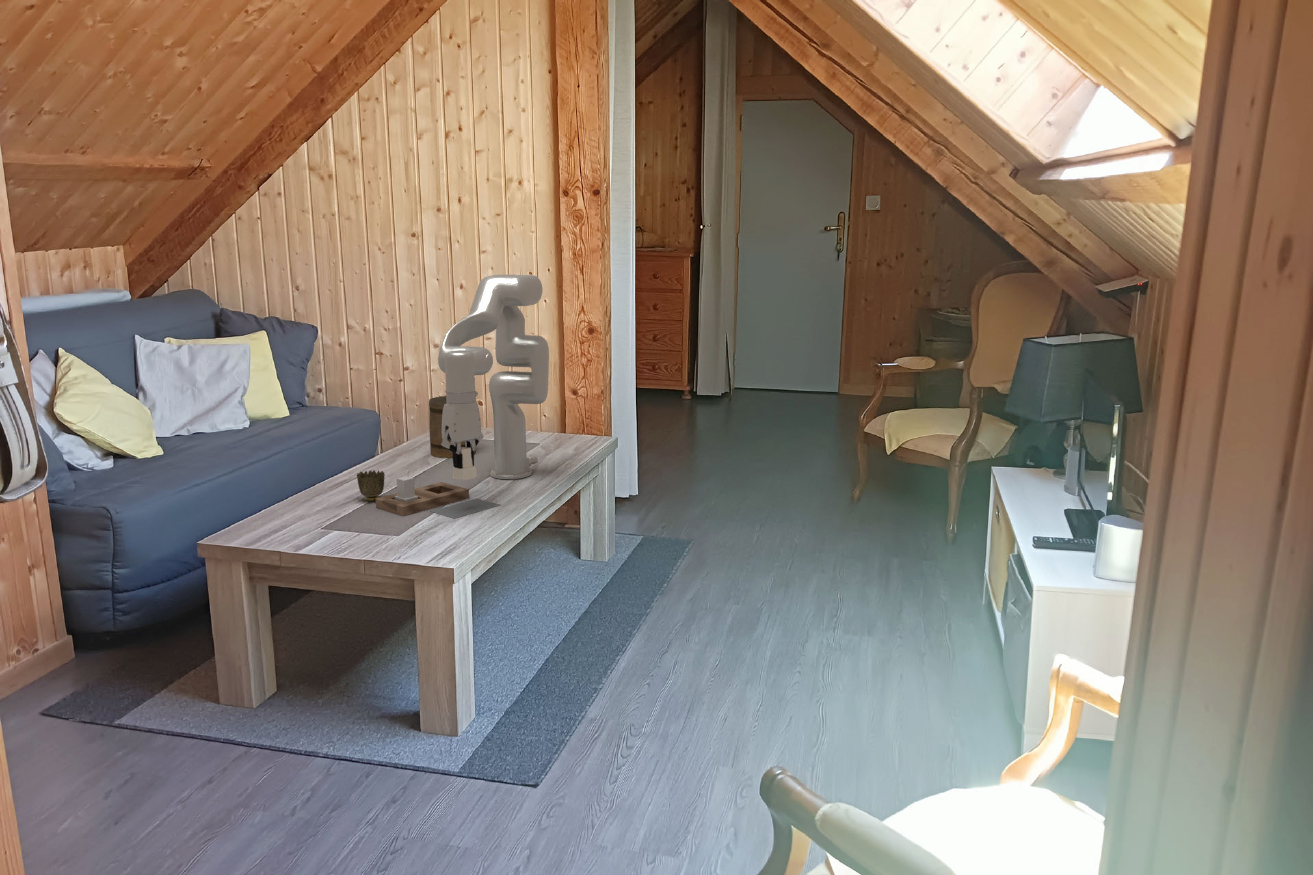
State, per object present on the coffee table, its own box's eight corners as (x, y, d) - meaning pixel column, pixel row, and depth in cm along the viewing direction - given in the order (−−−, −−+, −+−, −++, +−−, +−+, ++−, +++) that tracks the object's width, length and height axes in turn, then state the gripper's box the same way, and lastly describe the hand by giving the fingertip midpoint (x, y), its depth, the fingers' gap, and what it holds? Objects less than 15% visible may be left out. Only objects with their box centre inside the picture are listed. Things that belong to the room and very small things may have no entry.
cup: (385, 504, 271) (383, 475, 269) (357, 505, 270) (355, 477, 268) (387, 496, 278) (385, 469, 276) (359, 498, 277) (357, 470, 275)
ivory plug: (465, 476, 266) (462, 446, 265) (476, 477, 263) (473, 447, 262) (453, 478, 263) (450, 449, 262) (465, 480, 260) (462, 450, 259)
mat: (476, 500, 275) (476, 498, 275) (501, 506, 269) (501, 504, 268) (430, 513, 263) (430, 511, 263) (454, 520, 257) (454, 518, 256)
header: (441, 492, 283) (441, 482, 282) (469, 499, 275) (468, 489, 275) (376, 509, 266) (375, 498, 266) (403, 517, 259) (403, 506, 258)
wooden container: (471, 458, 322) (468, 391, 317) (425, 458, 323) (422, 391, 318) (480, 447, 337) (477, 384, 332) (436, 447, 337) (433, 383, 332)
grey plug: (407, 503, 269) (405, 475, 268) (418, 507, 266) (416, 478, 265) (395, 507, 266) (393, 478, 265) (406, 510, 263) (404, 481, 262)
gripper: (475, 392, 267) (478, 459, 271) (426, 400, 255) (429, 470, 259) (494, 395, 263) (496, 463, 267) (445, 404, 250) (448, 474, 254)
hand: (463, 465), depth 263 cm, fingers closed on ivory plug, 3 cm apart
